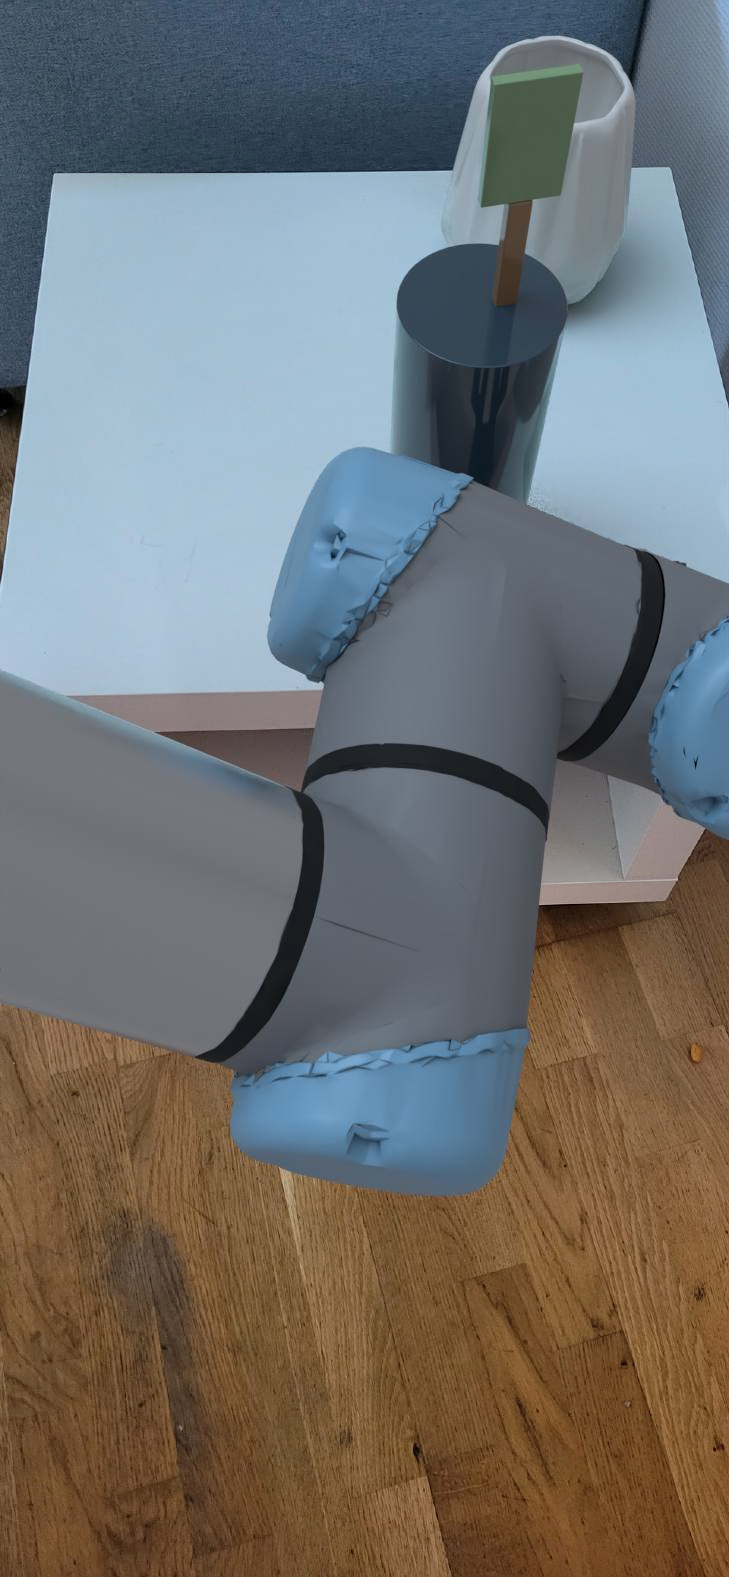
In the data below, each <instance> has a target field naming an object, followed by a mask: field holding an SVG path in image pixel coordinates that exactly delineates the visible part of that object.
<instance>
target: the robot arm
mask: <svg viewBox="0 0 729 1577" xmlns="http://www.w3.org/2000/svg"><path fill="white" fill-rule="evenodd" d="M269 618H270V619H269V623H268V627H267V634H266V640H267V641H266V642H267V646H268V648H269V651H270V653H271V654H272V656H273V657H274V659H275V660H277V661H278V662H279V663H280V664H282V665H283V666H285V667H288V668H289V669H291V670H294V671H296V672H298V673H300V674H302V675H305V678H306V679H307V680H308V681H309V682H312V683H315V684H316V683H317V684H320V683H323V687H322V693H321V699H320V703H319V706H318V712H317V716H316V719H315V726H314V729H313V735H312V739H311V744H310V749H309V753H308V757H307V761H306V767H305V772H304V776H303V779H302V785H301V789H300V791H299V790H296V789H295V788H291V787H289V786H286V785H282V784H280V783H278V782H276V781H274V780H272V779H269V778H267V777H264V776H261V775H259V774H257V773H254V772H252V771H250V770H247V769H245V768H242V767H240V766H237V765H235V764H233V763H230V762H228V761H225V760H223V759H220V758H218V757H216V756H213V755H210V754H208V753H205V752H203V751H201V750H198V749H196V748H193V747H191V746H189V745H186V744H184V743H181V742H178V741H176V740H174V739H171V738H170V737H166V736H164V735H162V734H159V733H157V732H155V731H152V730H150V729H147V728H145V727H142V726H141V725H137V724H135V723H132V722H130V721H128V720H125V719H123V718H120V717H118V716H116V715H113V714H111V713H108V712H106V711H103V710H101V709H98V708H96V707H93V706H92V705H89V704H86V703H84V702H82V701H79V700H76V699H74V698H72V697H69V696H67V695H64V694H62V693H60V692H57V691H56V690H52V689H50V688H47V687H45V686H42V685H39V684H38V683H35V682H32V681H31V680H28V679H25V678H23V677H20V676H18V675H16V674H13V673H10V672H8V671H5V670H3V669H2V668H1V669H0V1004H4V1005H7V1006H11V1007H14V1008H16V1009H17V1008H18V1009H20V1010H24V1011H29V1012H31V1013H35V1014H38V1015H42V1016H46V1017H49V1018H53V1019H57V1020H60V1021H64V1022H67V1023H70V1024H75V1025H76V1026H77V1025H78V1026H81V1027H84V1028H88V1029H92V1030H95V1031H99V1032H102V1033H106V1034H110V1035H113V1036H116V1037H120V1038H124V1039H127V1040H130V1041H133V1042H138V1043H141V1044H145V1045H148V1046H152V1047H155V1048H159V1049H163V1050H166V1051H170V1052H173V1053H176V1054H180V1055H183V1056H186V1057H187V1056H188V1057H190V1058H194V1059H197V1060H201V1061H204V1062H208V1063H211V1064H218V1065H220V1066H222V1067H224V1068H227V1069H230V1070H232V1071H233V1077H232V1080H231V1083H230V1086H229V1090H230V1093H231V1096H232V1098H233V1101H232V1107H231V1113H230V1118H229V1123H230V1124H229V1128H230V1129H229V1130H230V1135H231V1138H232V1140H233V1143H234V1144H235V1146H236V1147H237V1148H238V1149H239V1151H241V1152H243V1153H244V1154H245V1155H246V1156H247V1157H248V1158H250V1159H253V1160H255V1161H257V1162H259V1163H261V1164H268V1165H272V1166H276V1167H279V1168H280V1169H281V1170H285V1171H287V1172H290V1173H292V1174H295V1175H296V1174H297V1175H300V1176H304V1177H307V1178H308V1177H309V1178H313V1179H318V1180H322V1181H326V1182H332V1183H334V1184H335V1183H336V1184H340V1185H346V1186H352V1187H357V1188H363V1189H369V1190H375V1191H381V1192H387V1193H395V1194H405V1195H413V1196H426V1197H427V1196H428V1197H456V1196H463V1195H467V1194H470V1193H473V1192H475V1191H478V1190H479V1189H481V1188H484V1187H485V1186H486V1185H488V1183H490V1182H491V1181H492V1180H493V1179H494V1178H495V1176H496V1175H497V1174H498V1172H500V1169H501V1167H502V1165H503V1163H504V1160H505V1158H506V1154H507V1148H508V1143H509V1138H510V1133H511V1126H512V1122H513V1115H514V1111H515V1105H516V1100H517V1094H518V1088H519V1083H520V1078H521V1071H522V1068H523V1061H524V1057H525V1050H526V1048H527V1047H528V1046H529V1045H530V1041H531V1039H532V1038H531V1030H530V1027H528V1018H529V1008H530V998H531V989H532V978H533V969H534V968H533V967H534V959H535V958H534V957H535V948H536V940H537V929H538V919H539V909H540V899H541V891H542V890H541V888H542V878H543V869H544V860H545V850H546V842H547V841H548V832H549V823H550V818H551V810H552V809H551V808H552V801H553V793H554V784H555V778H556V777H555V776H556V768H557V761H558V760H559V761H562V762H568V763H571V764H574V765H577V766H580V767H583V768H585V769H589V770H592V771H594V772H597V773H601V774H603V775H607V776H610V777H612V778H616V779H618V780H621V781H624V782H628V783H630V784H634V785H636V786H639V787H641V788H643V789H646V790H648V791H651V792H653V793H655V794H657V795H659V796H660V798H661V799H662V802H663V803H664V804H665V805H666V806H669V807H671V808H672V811H673V813H674V814H675V815H676V816H678V817H679V818H681V819H683V820H686V821H689V822H691V823H696V824H698V825H699V826H701V827H702V828H704V829H705V830H706V831H709V832H710V833H712V834H714V835H716V836H718V837H719V838H721V839H724V840H727V841H729V583H728V582H727V581H724V580H721V579H720V578H716V577H714V576H711V575H708V574H706V573H704V572H701V571H699V570H697V569H693V568H692V567H690V566H687V562H683V561H682V562H681V561H680V560H672V559H669V558H666V557H664V556H662V555H659V554H656V553H653V552H651V551H649V550H648V549H647V548H640V547H633V546H630V545H628V544H622V543H620V542H618V541H615V540H614V539H611V538H608V537H606V536H603V535H601V534H598V533H596V532H594V531H592V530H589V529H586V528H584V527H581V526H579V525H576V524H575V523H572V522H569V521H567V520H565V519H562V518H560V517H557V516H556V515H553V514H551V513H548V512H546V511H544V510H541V509H538V508H537V507H534V506H532V505H529V504H528V503H527V504H525V503H523V502H520V501H518V500H516V499H514V498H511V497H509V496H507V495H504V494H502V493H500V492H497V491H495V490H493V489H491V488H488V487H486V486H484V485H481V484H479V483H477V482H475V481H473V477H470V476H469V475H466V474H463V473H458V474H456V473H453V472H450V471H447V470H444V469H441V468H438V467H435V466H433V465H430V464H427V463H424V462H421V461H418V460H415V459H412V458H410V457H407V456H398V455H394V454H391V453H390V452H387V451H384V450H380V449H377V448H374V447H367V446H357V447H352V448H348V449H346V450H343V451H342V452H340V453H339V454H338V455H336V456H335V457H333V458H332V459H331V460H330V461H329V462H328V463H327V464H326V466H325V467H324V468H323V470H322V471H321V473H320V474H319V476H318V477H317V479H316V481H315V483H314V485H313V487H312V489H311V490H310V492H309V495H308V497H307V499H306V501H305V503H304V505H303V508H302V510H301V512H300V514H299V517H298V519H297V522H296V525H295V527H294V529H293V533H292V535H291V538H290V540H289V544H288V545H287V549H286V553H285V555H284V558H283V561H282V565H281V568H280V571H279V574H278V578H277V581H276V585H275V588H274V592H273V595H272V600H271V604H270V609H269Z"/></svg>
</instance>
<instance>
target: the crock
mask: <svg viewBox="0 0 729 1577" xmlns="http://www.w3.org/2000/svg"><path fill="white" fill-rule="evenodd" d="M582 78H583V70H582V68H581V66H580V64H576V65H569V66H562V67H555V68H548V69H541V70H534V71H527V72H520V73H513V74H506V75H499V76H492V77H491V85H490V94H489V103H488V112H487V121H486V130H485V139H484V148H483V157H482V166H481V175H480V184H479V193H478V202H479V204H480V207H481V208H483V207H489V206H496V205H502V204H504V210H503V217H502V225H501V232H500V240H499V245H494V244H483V243H472V244H462V245H456V246H451V247H448V246H447V247H445V248H442V249H439V250H437V251H434V252H432V253H430V254H428V255H426V256H425V257H423V258H422V259H420V260H419V261H418V262H417V263H415V264H414V265H413V266H412V267H411V268H410V269H409V270H408V271H407V273H406V274H405V275H404V277H403V278H402V280H401V282H400V284H399V288H398V290H397V293H396V294H397V295H396V303H395V325H394V348H393V351H394V352H393V373H392V374H393V376H392V393H391V394H392V396H391V397H392V398H391V416H390V417H391V420H390V421H391V422H390V442H389V443H390V445H389V453H391V454H394V455H398V456H407V457H410V458H412V459H415V460H418V461H421V462H424V463H427V464H430V465H433V466H435V467H438V468H441V469H444V470H447V471H450V472H453V473H456V474H458V473H463V474H466V475H469V476H470V477H473V481H475V482H477V483H479V484H481V485H484V486H486V487H488V488H491V489H493V490H495V491H497V492H500V493H502V494H504V495H507V496H509V497H511V498H514V499H516V500H518V501H520V502H523V503H525V504H527V505H528V504H529V498H530V494H531V490H532V485H533V484H532V483H533V480H534V475H535V470H536V465H537V460H538V456H539V451H540V446H541V442H542V437H543V432H544V429H545V428H544V427H545V424H546V423H545V422H546V419H547V413H548V409H549V404H550V400H551V395H552V390H553V385H554V381H555V378H556V377H555V376H556V372H557V367H558V363H559V357H560V352H561V348H562V343H563V339H564V334H565V329H566V324H567V320H568V312H569V304H567V298H566V295H565V292H564V289H563V288H562V286H561V284H560V282H559V281H558V279H557V278H556V276H555V275H554V274H553V273H552V272H551V271H550V270H549V269H548V268H547V267H546V266H544V265H543V264H542V263H541V262H539V261H538V260H536V259H535V258H533V257H531V256H529V255H527V254H525V248H526V242H527V236H528V229H529V223H530V217H531V211H532V204H533V201H532V200H535V199H541V198H548V197H554V196H560V195H561V191H562V186H563V181H564V175H565V170H566V164H567V159H568V153H569V148H570V143H571V137H572V132H573V126H574V121H575V115H576V110H577V105H578V99H579V94H580V88H581V83H582Z"/></svg>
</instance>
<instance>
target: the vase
mask: <svg viewBox="0 0 729 1577" xmlns="http://www.w3.org/2000/svg"><path fill="white" fill-rule="evenodd" d="M576 64H580V66H581V68H582V70H583V78H582V83H581V88H580V94H579V99H578V105H577V110H576V115H575V121H574V126H573V132H572V137H571V143H570V148H569V153H568V159H567V164H566V170H565V175H564V181H563V186H562V191H561V195H560V196H554V197H548V198H541V199H535V200H532V201H533V204H532V211H531V217H530V223H529V229H528V236H527V242H526V248H525V254H527V255H529V256H531V257H533V258H535V259H536V260H538V261H539V262H541V263H542V264H543V265H544V266H546V267H547V268H548V269H549V270H550V271H551V272H552V273H553V274H554V275H555V276H556V278H557V279H558V281H559V282H560V284H561V286H562V288H563V289H564V292H565V295H566V298H567V304H568V305H573V304H576V303H579V302H581V301H582V300H584V298H586V296H588V294H589V293H591V292H592V291H593V289H594V288H596V286H597V283H598V282H600V281H601V280H603V278H604V277H605V275H606V273H607V271H608V268H609V267H610V265H611V263H612V261H613V259H614V256H615V255H616V254H617V252H618V251H619V250H620V248H621V247H622V244H623V243H624V240H625V236H626V227H627V221H628V214H629V204H630V194H631V193H630V192H631V181H632V180H631V179H632V166H633V165H632V163H633V153H634V152H633V151H634V139H635V124H636V123H635V122H636V97H635V91H634V88H633V85H632V83H631V80H630V78H629V76H628V74H627V73H626V72H625V71H624V68H623V66H622V64H621V63H620V61H619V60H618V59H617V58H616V57H615V56H614V55H612V54H611V53H610V52H608V51H606V50H604V49H602V48H600V47H598V46H597V45H594V44H592V43H587V42H584V41H583V40H580V39H577V38H573V37H569V36H563V35H543V36H538V37H535V38H526V39H523V40H522V39H521V40H520V41H518V42H514V43H511V44H509V45H507V46H505V47H503V48H502V49H500V50H499V51H498V52H497V53H496V55H494V58H493V59H492V61H491V62H490V63H489V64H488V65H487V66H486V67H485V68H484V70H483V71H482V73H481V75H480V76H479V78H478V79H477V82H476V84H475V87H474V90H473V94H472V98H471V100H470V104H469V108H468V113H467V116H466V118H465V122H464V127H463V130H462V134H461V138H460V141H459V145H458V149H457V152H456V156H455V160H454V164H453V168H452V171H451V175H450V179H449V183H448V187H447V190H446V196H445V200H444V205H443V208H442V215H441V219H440V230H441V235H442V236H443V238H444V241H445V243H446V245H447V247H451V246H456V245H462V244H472V243H483V244H494V245H499V240H500V232H501V225H502V217H503V210H504V204H502V205H496V206H489V207H483V208H481V207H480V204H479V202H478V193H479V184H480V175H481V166H482V157H483V148H484V139H485V130H486V121H487V112H488V103H489V94H490V85H491V77H492V76H499V75H506V74H513V73H520V72H527V71H534V70H541V69H548V68H555V67H562V66H569V65H576Z"/></svg>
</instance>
